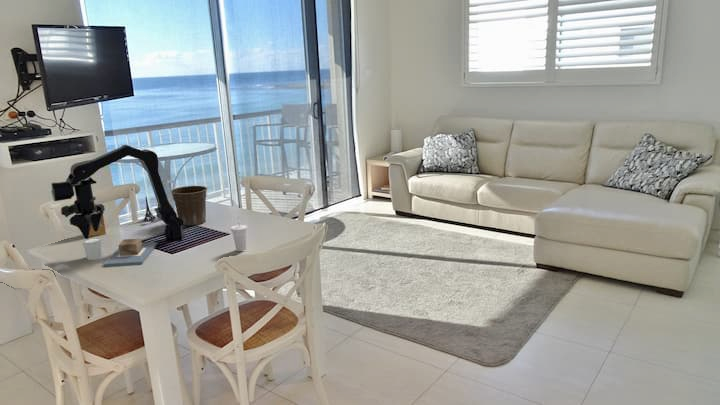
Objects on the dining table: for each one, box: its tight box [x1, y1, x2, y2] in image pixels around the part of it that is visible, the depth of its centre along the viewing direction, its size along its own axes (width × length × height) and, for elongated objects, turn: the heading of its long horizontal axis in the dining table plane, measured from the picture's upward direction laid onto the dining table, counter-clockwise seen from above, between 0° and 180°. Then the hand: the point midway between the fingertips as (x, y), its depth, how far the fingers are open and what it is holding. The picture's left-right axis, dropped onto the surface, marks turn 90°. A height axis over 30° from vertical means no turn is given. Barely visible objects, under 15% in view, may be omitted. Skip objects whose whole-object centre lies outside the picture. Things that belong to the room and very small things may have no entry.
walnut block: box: [118, 238, 143, 256], centre depth 205 cm, size 7×7×4 cm
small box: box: [89, 202, 107, 237], centre depth 231 cm, size 8×6×13 cm
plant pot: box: [170, 185, 208, 227], centre depth 243 cm, size 16×16×16 cm
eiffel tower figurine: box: [139, 196, 161, 227], centre depth 249 cm, size 15×10×13 cm
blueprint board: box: [102, 241, 158, 267], centre depth 205 cm, size 14×22×1 cm, turn 6°
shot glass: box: [82, 237, 104, 261], centre depth 203 cm, size 7×7×7 cm
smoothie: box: [230, 215, 248, 252], centre depth 205 cm, size 6×6×14 cm
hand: (91, 235), depth 202 cm, fingers open, 9 cm apart
